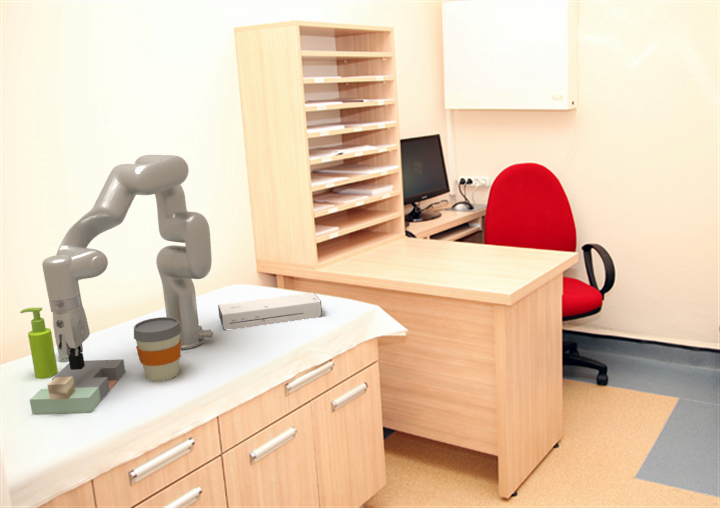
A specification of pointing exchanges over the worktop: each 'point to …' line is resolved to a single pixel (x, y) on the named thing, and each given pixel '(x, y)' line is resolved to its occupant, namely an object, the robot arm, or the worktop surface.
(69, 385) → the maple block
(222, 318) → the laminator
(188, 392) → the worktop surface
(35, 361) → the soap dispenser
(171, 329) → the reusable coffee cup
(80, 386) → the board
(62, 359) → the skincare box
